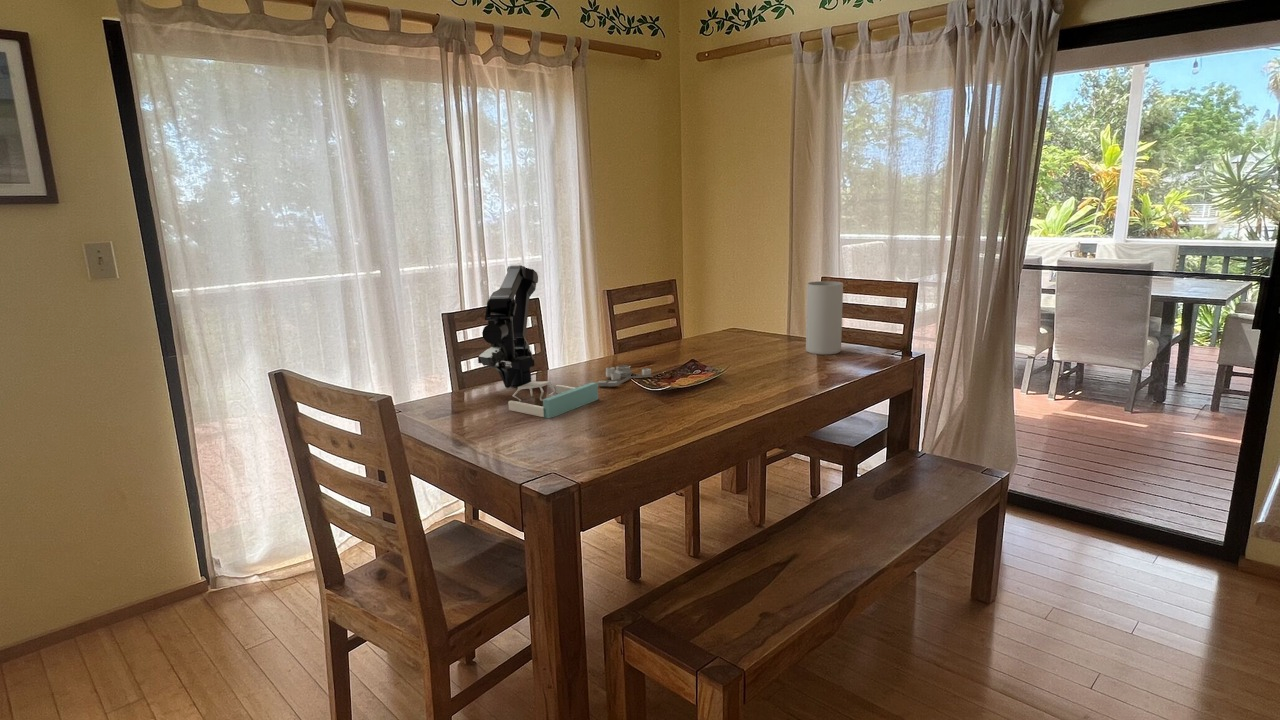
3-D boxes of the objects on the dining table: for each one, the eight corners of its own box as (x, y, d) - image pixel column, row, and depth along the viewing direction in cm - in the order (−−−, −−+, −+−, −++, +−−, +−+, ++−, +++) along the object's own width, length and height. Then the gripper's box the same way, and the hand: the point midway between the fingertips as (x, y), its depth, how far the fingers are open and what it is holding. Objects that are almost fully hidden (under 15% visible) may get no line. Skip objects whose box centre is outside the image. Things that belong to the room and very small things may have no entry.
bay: (508, 409, 200) (507, 392, 199) (558, 392, 216) (557, 376, 215) (549, 418, 191) (548, 400, 190) (598, 399, 207) (597, 383, 206)
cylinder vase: (806, 355, 254) (808, 285, 249) (804, 347, 266) (806, 281, 261) (842, 355, 252) (845, 285, 247) (839, 347, 264) (841, 281, 259)
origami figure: (539, 393, 216) (538, 377, 215) (557, 397, 211) (556, 381, 210) (507, 402, 208) (506, 386, 207) (525, 407, 202) (523, 390, 201)
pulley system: (582, 383, 229) (604, 391, 217) (581, 369, 229) (603, 375, 216) (654, 373, 243) (678, 380, 230) (653, 360, 242) (678, 365, 230)
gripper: (461, 339, 209) (466, 390, 213) (506, 345, 198) (510, 398, 202) (490, 332, 218) (494, 381, 221) (534, 337, 207) (537, 389, 211)
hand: (507, 387), depth 214 cm, fingers closed
